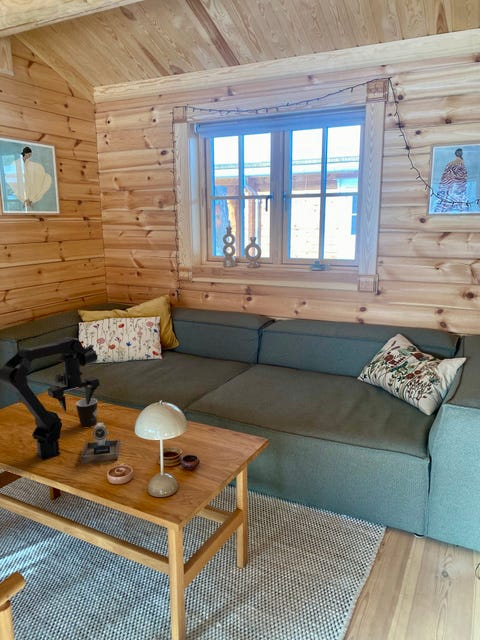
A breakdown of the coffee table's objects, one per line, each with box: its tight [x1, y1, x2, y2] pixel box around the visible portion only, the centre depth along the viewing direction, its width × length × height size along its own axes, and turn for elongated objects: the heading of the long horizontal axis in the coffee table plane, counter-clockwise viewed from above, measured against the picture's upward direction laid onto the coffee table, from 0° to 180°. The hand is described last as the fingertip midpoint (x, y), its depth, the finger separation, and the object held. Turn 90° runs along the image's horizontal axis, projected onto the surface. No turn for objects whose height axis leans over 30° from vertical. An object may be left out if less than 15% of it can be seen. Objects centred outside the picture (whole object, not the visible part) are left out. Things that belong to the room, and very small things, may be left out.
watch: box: [92, 422, 111, 455], centre depth 171 cm, size 6×8×11 cm
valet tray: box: [80, 438, 122, 465], centre depth 172 cm, size 13×12×3 cm
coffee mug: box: [75, 397, 98, 428], centre depth 198 cm, size 12×9×10 cm
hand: (76, 407), depth 182 cm, fingers open, 9 cm apart
